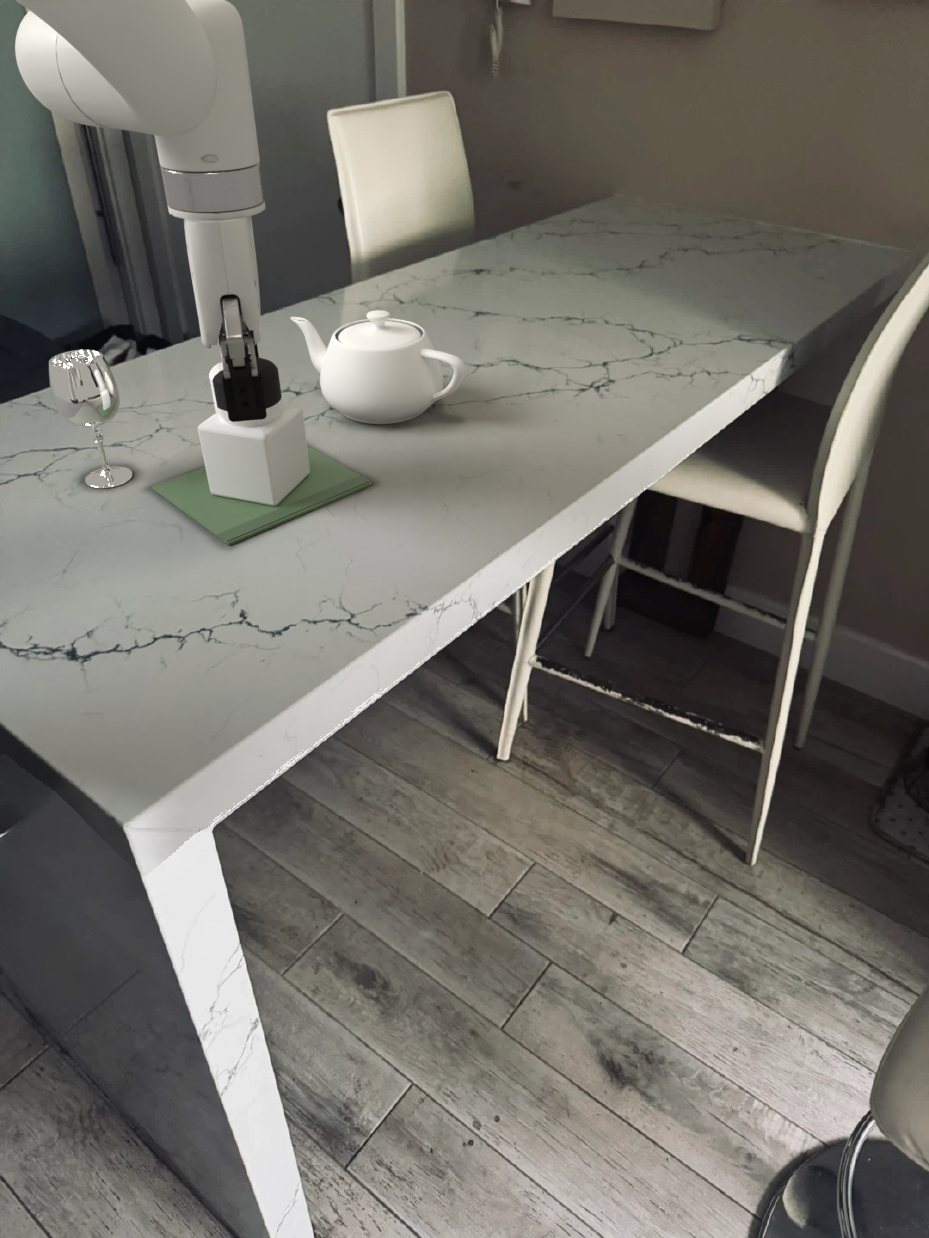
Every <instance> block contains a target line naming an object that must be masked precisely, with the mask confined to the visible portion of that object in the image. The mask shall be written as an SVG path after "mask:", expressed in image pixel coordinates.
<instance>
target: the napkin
mask: <svg viewBox="0 0 929 1238" xmlns="http://www.w3.org/2000/svg"><path fill="white" fill-rule="evenodd" d="M307 450H308V458H309V466H310V473H309V474H308V475H307V476H306V477H305V478H304V479H303V480H302V481H301V482H300V483H299V484H298V485H297V486H296V487H295V488H294V489H293V490H292V491H291V492H290V493H289V494H288V495H287V496H286V497H285V498H284V499H283V500H282V501H281V502H280V503H279V504H278V505H277V506H271V505H265V504H260V503H254V502H249V501H244V500H238V499H233V498H227V497H222V496H217V495H213V494H211V492H210V487H209V482H208V477H207V472H206V467H205V466H203V467H201V468H198V469H195V470H193V471H190V472H187V473H184V474H181V475H179V476H175V477H173V478H170V479H168V480H165V481H162V482H159V483H157V484H153V485H151V489H152V490H153V491H154V492H156V493H157V494H158V495H160V496H161V497H162V498H164V499H165V500H167V501H168V502H169V503H170V504H172V505H173V506H174V507H176V508H177V509H179V510H180V511H181V512H183V513H184V514H185V515H187V516H188V517H189V518H191V519H192V520H193V521H195V522H196V523H197V524H199V525H200V526H201V527H203V528H204V529H205V530H207V531H208V532H210V533H211V534H212V535H214V536H215V537H216V538H218V539H219V540H220V541H222V542H223V543H225V544H226V545H227V546H232V545H234V544H236V543H239V542H241V541H244V540H246V539H249V538H250V537H253V536H255V535H258V534H260V533H263V532H265V531H267V530H269V529H271V528H274V527H276V526H278V525H281V524H284V523H286V522H288V521H290V520H293V519H295V518H297V517H299V516H302V515H305V514H307V513H309V512H312V511H314V510H316V509H318V508H321V507H324V506H326V505H328V504H330V503H333V502H335V501H338V500H340V499H343V498H344V497H347V496H349V495H352V494H354V493H356V492H359V491H361V490H363V489H365V488H368V487H371V486H373V482H372V481H371V479H369V478H367V477H365V476H364V475H362V474H358V473H357V472H355V471H353V470H352V469H349V468H348V467H346V466H345V465H342V464H341V463H339V462H337V461H336V460H334V459H332V458H330V457H328V456H327V455H325V454H324V453H321V452H320V451H317V450H315V448H312V447H310V446H309V445H307Z"/></svg>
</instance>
